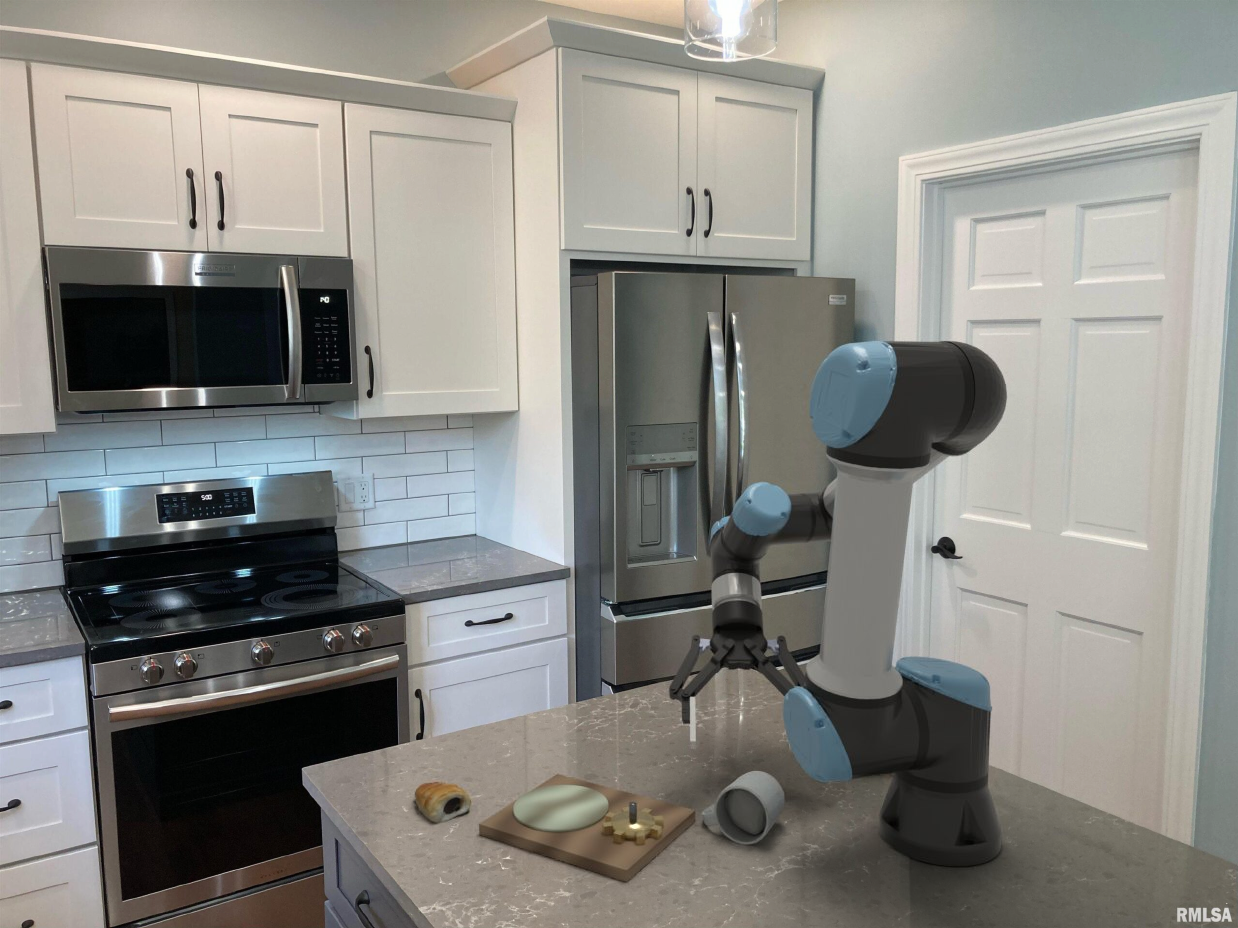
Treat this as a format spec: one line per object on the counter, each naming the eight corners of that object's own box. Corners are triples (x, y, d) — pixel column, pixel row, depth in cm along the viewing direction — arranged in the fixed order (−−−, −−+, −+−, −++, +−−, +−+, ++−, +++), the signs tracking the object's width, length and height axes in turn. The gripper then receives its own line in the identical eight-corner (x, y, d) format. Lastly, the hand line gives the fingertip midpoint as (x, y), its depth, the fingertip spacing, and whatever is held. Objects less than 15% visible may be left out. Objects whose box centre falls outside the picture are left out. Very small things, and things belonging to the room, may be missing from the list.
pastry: (402, 803, 136) (402, 777, 136) (445, 790, 141) (444, 765, 140) (434, 827, 129) (433, 800, 129) (477, 812, 133) (476, 786, 133)
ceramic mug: (788, 823, 129) (787, 768, 128) (768, 850, 121) (768, 792, 121) (715, 808, 134) (714, 755, 133) (692, 834, 126) (691, 778, 126)
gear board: (695, 820, 130) (695, 806, 129) (627, 881, 114) (626, 866, 114) (557, 783, 142) (557, 770, 142) (479, 834, 126) (478, 820, 126)
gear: (674, 824, 126) (674, 798, 125) (644, 850, 119) (643, 823, 118) (623, 810, 130) (622, 784, 129) (590, 834, 123) (590, 808, 123)
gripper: (818, 623, 146) (831, 758, 132) (655, 622, 147) (652, 754, 134) (823, 598, 140) (838, 736, 127) (653, 597, 142) (650, 733, 128)
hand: (742, 746), depth 130 cm, fingers open, 13 cm apart
